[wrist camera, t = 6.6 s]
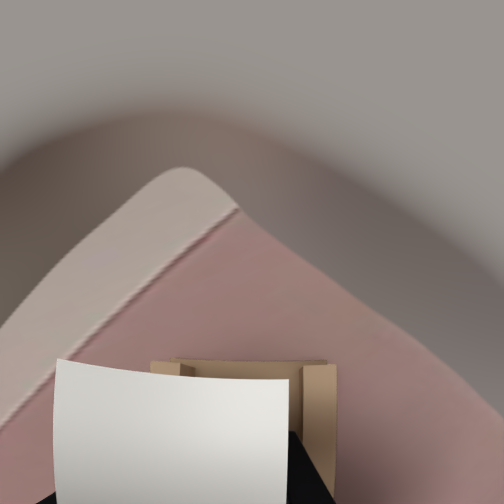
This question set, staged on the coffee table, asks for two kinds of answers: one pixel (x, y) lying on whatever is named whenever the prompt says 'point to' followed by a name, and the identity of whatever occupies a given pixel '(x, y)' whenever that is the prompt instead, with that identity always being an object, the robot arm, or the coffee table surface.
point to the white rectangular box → (168, 438)
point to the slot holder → (300, 398)
